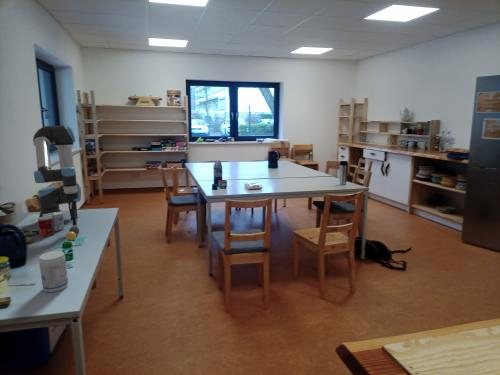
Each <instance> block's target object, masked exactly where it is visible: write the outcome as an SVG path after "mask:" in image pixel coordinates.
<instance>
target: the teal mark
mask: <svg viewBox="0 0 500 375" xmlns="http://www.w3.org/2000/svg"><path fill="white" fill-rule="evenodd" d="M84 239H86V236H83V237H76V238H75V240H73V242H75V243H76V245H77V244H81V245H80V246H83V244H84V241H85V240H84ZM66 241H68V240H67V239H66V238H63V239H62V238H61V239H58V241H57V243H56V244H55V245H54V249H62V248H61V243H62V242H66ZM75 243H74V244H75ZM72 247H75V246H74V245H73V246H72Z"/></svg>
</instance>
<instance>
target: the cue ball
mask: <svg viewBox="0 0 500 375" xmlns="http://www.w3.org/2000/svg"><path fill="white" fill-rule="evenodd" d="M68 232H74V233H75V234H76V236H77V235H78V234H79V233H80V227H79V226H78V227H76V226H73V225H72V226H71V227H70V228H69V230H68Z"/></svg>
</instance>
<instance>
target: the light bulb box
mask: <svg viewBox="0 0 500 375" xmlns="http://www.w3.org/2000/svg"><path fill="white" fill-rule="evenodd" d="M61 212H62V211H61ZM61 212H54V213H49V214H43V216H52V217H53V223H54V230H55V232H58V231H63V230H65V222H64V219H63V217H64V213H63V212H62V213H61Z"/></svg>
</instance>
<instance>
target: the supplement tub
mask: <svg viewBox="0 0 500 375" xmlns="http://www.w3.org/2000/svg"><path fill="white" fill-rule="evenodd" d="M38 261H39V262H38V264H39V270H40V276H41V278H40V279H41V284H42V285H41V286H42V289H43V291H45V292H46V293H47V292H48V293H55V292H59V291H62V290H65V288H67V287H68V285H69V278H68V270H67V269H68V268H67V262H66V255H65V252H63V251H61V250H53V251H49V252H45V253H42V254H40V255H39V258H38Z"/></svg>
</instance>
